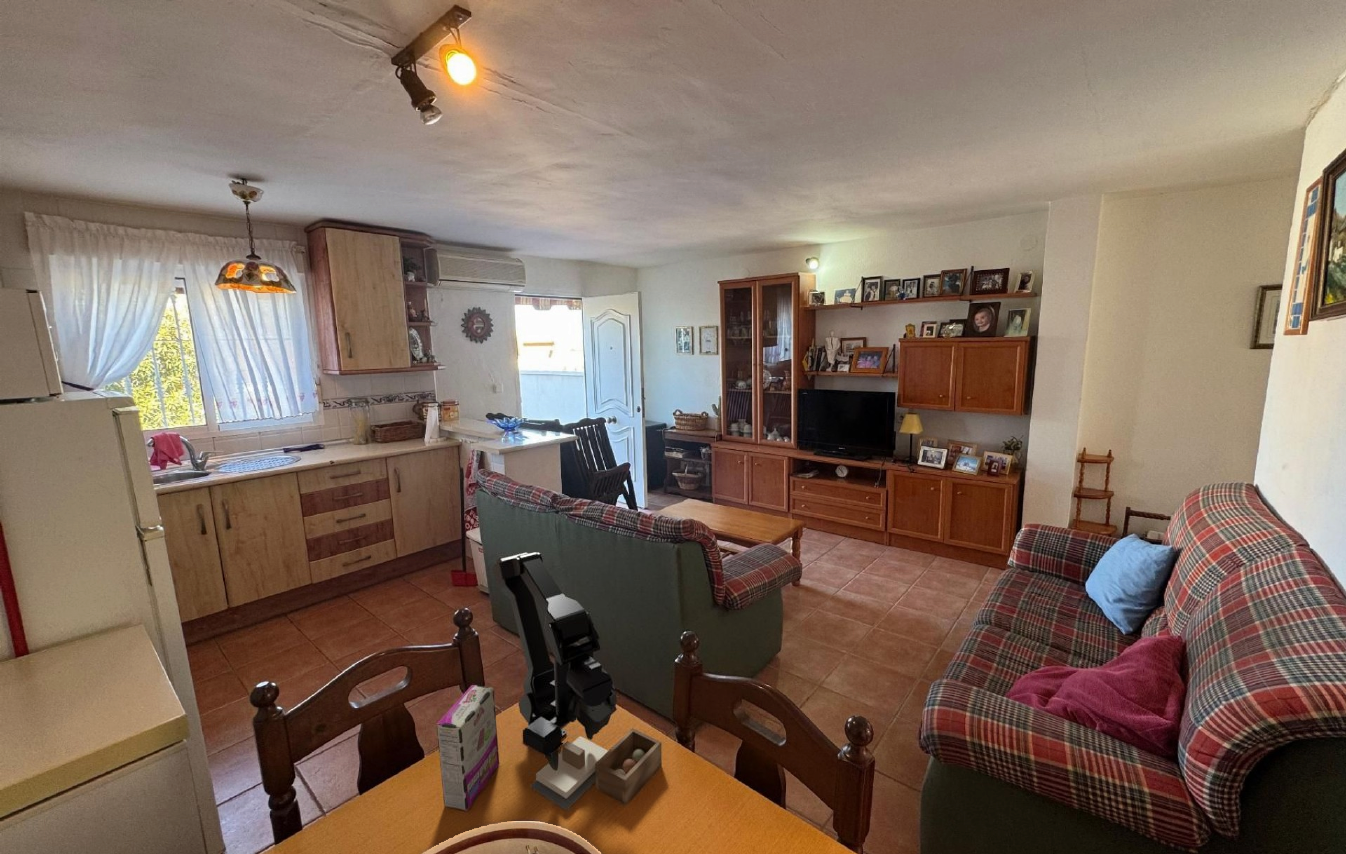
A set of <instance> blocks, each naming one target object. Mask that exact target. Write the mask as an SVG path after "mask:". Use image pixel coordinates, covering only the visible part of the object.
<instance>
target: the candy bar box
mask: <svg viewBox="0 0 1346 854" xmlns="http://www.w3.org/2000/svg"><path fill="white" fill-rule="evenodd" d="M495 702H496V701H495V688H494V687H490V686H482V685H478V684H472V685H470V686H469V688H468V689H466V691H465V692H464V693H463V694H462V696H461V697H460V698H458V700H457V701H456V702H455V703H454V704H453V706H452V707H450V708H449V710H448V711H446V713H445V714H444V715H443V716H442V717H441V718H440V720H439V721H438V722H437V723H436V732H437V744H438V754H439V760H440V761H439V764H440V773H441V774H440V775H441V785H442V797H443V805H444V807H446V808H449V809H456V810H461V811H466V812H468V811H469V810H470V808H471V807H472V805H473V804H474V802H475V801H476V799H477V798H478V797H479V795H480V793H481V791H482V790H483V788H484V787H486V784H487V783H488V781H489V780H490V779H491V777H492V775H493V774H494V772H495V771H496V769H497V768H498V766H499V765H500V756H499V742H498V741H499V740H498V729H497V728H498V727H497V714H496V703H495Z"/></svg>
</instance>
